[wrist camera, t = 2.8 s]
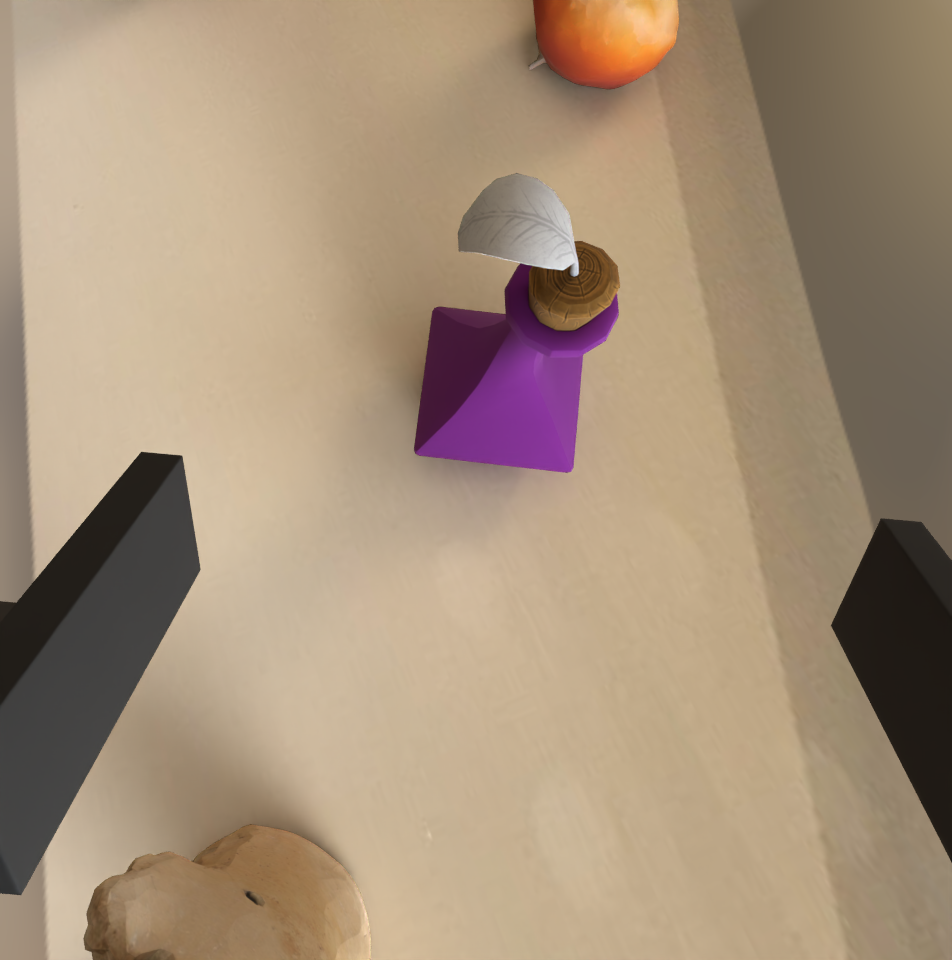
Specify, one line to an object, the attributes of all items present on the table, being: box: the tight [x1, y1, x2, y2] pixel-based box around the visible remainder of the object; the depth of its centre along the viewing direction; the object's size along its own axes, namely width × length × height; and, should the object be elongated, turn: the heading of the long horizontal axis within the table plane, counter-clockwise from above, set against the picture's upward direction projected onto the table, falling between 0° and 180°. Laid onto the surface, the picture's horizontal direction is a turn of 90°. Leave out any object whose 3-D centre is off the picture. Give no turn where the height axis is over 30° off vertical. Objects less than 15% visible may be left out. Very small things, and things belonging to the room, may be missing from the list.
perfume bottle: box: [414, 173, 620, 473], centre depth 30 cm, size 8×8×18 cm
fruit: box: [529, 0, 679, 89], centre depth 40 cm, size 8×8×8 cm
